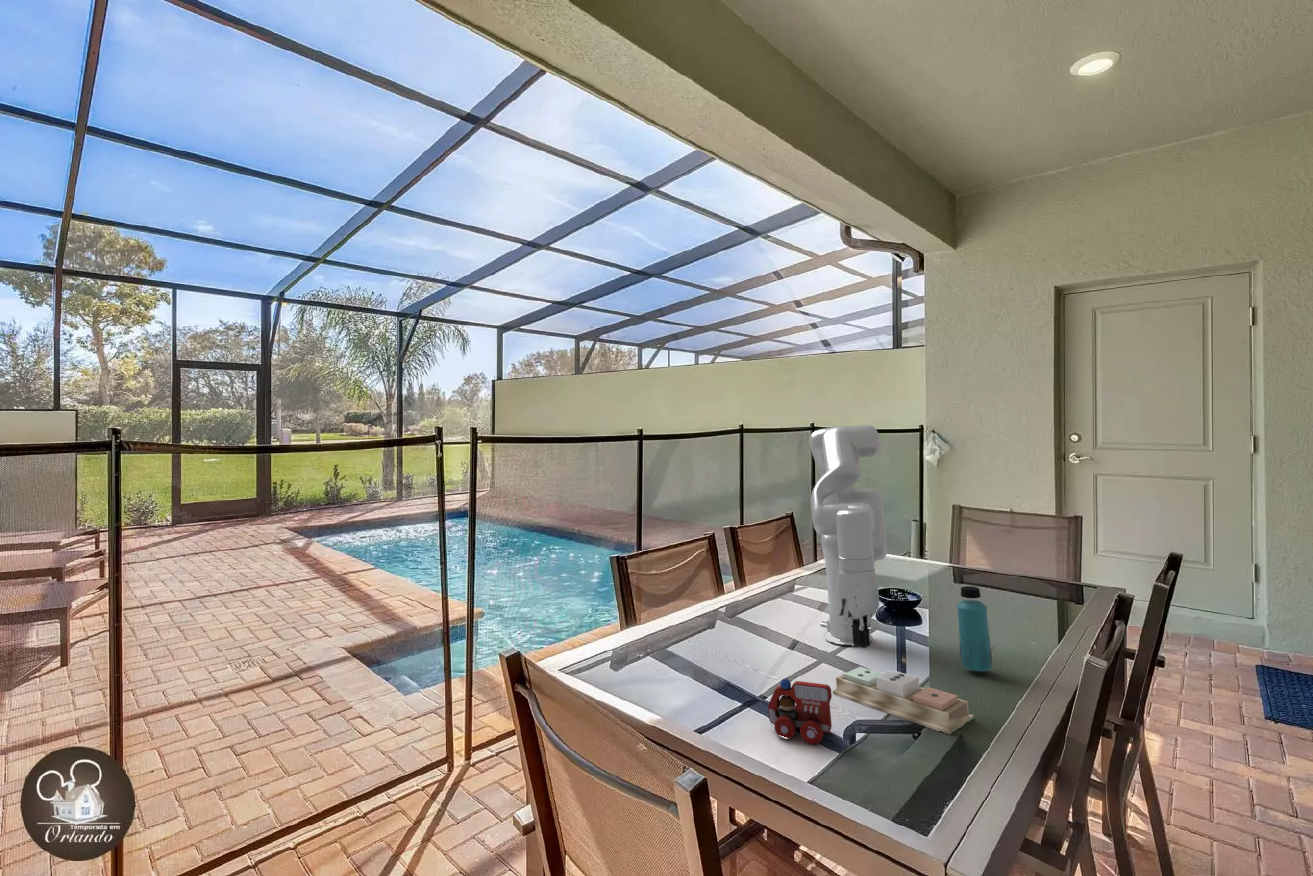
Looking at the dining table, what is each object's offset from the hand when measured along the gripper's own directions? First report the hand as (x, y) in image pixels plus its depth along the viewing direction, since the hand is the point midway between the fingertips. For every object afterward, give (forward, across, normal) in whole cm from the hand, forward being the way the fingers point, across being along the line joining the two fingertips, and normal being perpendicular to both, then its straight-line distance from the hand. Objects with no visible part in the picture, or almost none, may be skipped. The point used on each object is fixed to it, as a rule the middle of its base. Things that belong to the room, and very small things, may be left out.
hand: (861, 645), depth 130 cm
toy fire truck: (+10, +25, +3) cm, 27 cm away
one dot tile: (+9, +1, +17) cm, 19 cm away
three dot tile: (+8, +1, +9) cm, 12 cm away
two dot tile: (+9, +1, +1) cm, 9 cm away
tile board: (+10, +1, +9) cm, 13 cm away
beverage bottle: (+11, -27, +12) cm, 31 cm away
